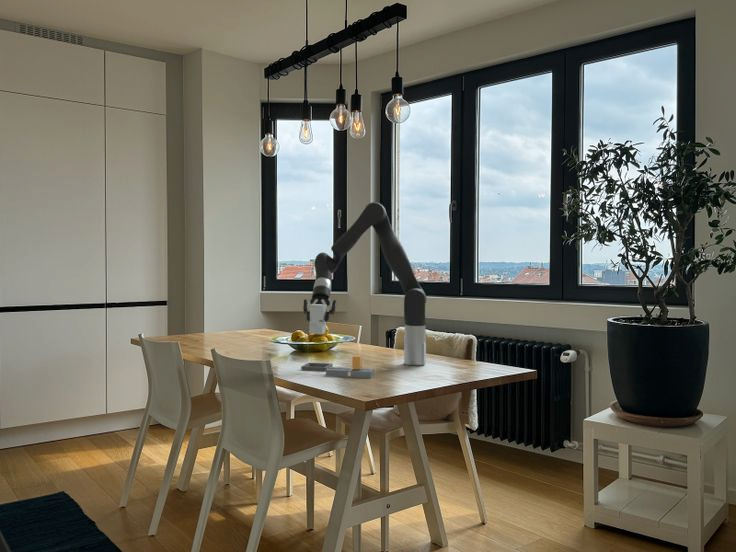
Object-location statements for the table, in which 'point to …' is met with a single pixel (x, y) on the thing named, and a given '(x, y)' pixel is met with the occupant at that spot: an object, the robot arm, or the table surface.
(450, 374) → the table surface
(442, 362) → the table surface
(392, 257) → the robot arm
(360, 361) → the block
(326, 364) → the frame
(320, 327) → the skincare box
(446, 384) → the table surface
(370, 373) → the switch panel
